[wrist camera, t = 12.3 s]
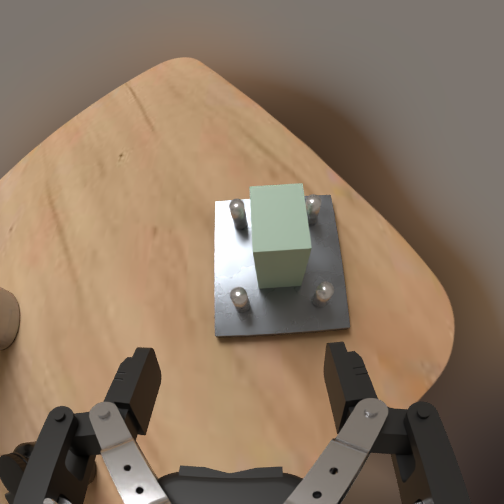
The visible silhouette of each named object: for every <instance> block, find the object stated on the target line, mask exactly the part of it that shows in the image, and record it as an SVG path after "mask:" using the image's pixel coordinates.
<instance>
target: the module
mask: <svg viewBox="0 0 504 504" xmlns="http://www.w3.org/2000/svg"><path fill="white" fill-rule="evenodd" d="M250 208H251V228H252V248H253V257H254V263H255V269H256V275H257V281H258V287H259V289H261V288H276V287H291V286H301V285H302V281H303V278H304V274H305V270H306V267H307V263H308V260H309V256H310V252H311V249H312V247H311V240H310V232H309V225H308V218H307V211H306V204H305V197H304V191H303V184H284V185H267V186H253V187H250Z"/></svg>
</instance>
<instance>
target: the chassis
mask: <svg viewBox="0 0 504 504" xmlns="http://www.w3.org/2000/svg"><path fill="white" fill-rule="evenodd" d="M304 197H305V204H306V211H307V218H308V225H309V232H310V240H311V247H312V249H311V252H310V256H309V260H308V263H307V267H306V270H305V274H304V278H303V281H302V285H301V286H291V287H276V288H261V289H259V287H258V281H257V275H256V269H255V263H254V257H253V248H252V228H251V208H250V199H244V200H240V199H234V200H230V201H217V202H216V207H215V336H216V337H246V336H267V335H284V334H298V333H311V332H323V331H334V330H344V329H348V328H350V322H349V313H348V304H347V296H346V288H345V280H344V273H343V266H342V259H341V252H340V246H339V240H338V233H337V227H336V222H335V216H334V210H333V205H332V199H331V195H314V194H313V195H309V196H304Z"/></svg>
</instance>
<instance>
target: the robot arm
mask: <svg viewBox="0 0 504 504" xmlns="http://www.w3.org/2000/svg"><path fill="white" fill-rule="evenodd" d="M19 316H20V313H19V306H18V302H17V300H16V298H15V296H14V295H13V294H12V293H11V292H9V291H7V290H5V289H3V288H1V287H0V350H2V349H5V348H7V347H8V346H9V345H10V344H11V343H12V342H13V340H14V339H15V336H16V334H17V331H18V327H19ZM324 379H325V383H326V388H327V392H328V396H329V400H330V404H331V409H332V413H333V417H334V421H335V426H336V430H337V434H338V435H337V437H336V438H335V439H334V438H333V439H332V440H331V441H330V443H329V444H328V445H327V447H326V448H325V450H324V451H323V453H322V454H321V455H320V457H319V458H318V460H317V461H316V462H315V464H314V465H313V467H312V468H311V469H310V471H309V472H308V473H307V475H306V476H305V477H304V478H303V479H302V478H300V477H298V476H295V475H292V474H288V473H283V471H282V467H266V468H254V469H249V470H245V471H240V472H235V473H225V472H221V471H217V470H213V469H209V468H205V467H193V466H180V469H179V472H175V473H171V474H168V475H165V476H163V477H161V478H159V479H158V477H157V476H156V474H155V473H154V471H153V469H152V468H151V466H150V464H149V463H148V461H147V459H146V458H145V456H144V454H143V452H142V451H141V449H140V447H139V445H138V444H137V442H136V438H137V434H139V435H146V432H147V428H148V425H149V421H150V418H151V414H152V411H153V408H154V404H155V401H156V397H157V394H158V391H159V387H160V384H161V370H160V367H159V364H158V361H157V358H156V355H155V351H154V349H153V348H141V347H138V348H136V350H135V353H134V355H133V357H127V358H126V359H125V360H124V361H123V362H122V363H121V364H120V366H119V368H118V371H117V373H116V375H115V377H114V380H113V382H112V384H111V386H110V388H109V390H108V393H107V395H106V397H105V400H104V402H101V403H98V404H96V405H95V406H93V408H92V409H91V410H90V412H85V413H76V414H74V413H73V412H72V410H71V409H70V408H68V407H66V406H60V407H56V408H54V409H53V410H52V411H51V412H50V413H49V415H48V417H47V419H46V421H45V423H44V425H43V428H42V430H41V432H40V434H39V437H38V439H37V441H36V444H35V446H34V449H33V451H32V453H31V456H30V458H29V461H28V463H27V466H26V468H25V471H24V474H23V476H22V479H21V482H20V484H19V487H18V490H17V493H16V496H15V499H14V502H13V504H83V502H84V498H85V494H86V490H87V486H88V482H89V479H90V475H91V471H92V468H93V464H94V461H95V457H96V455H99V454H101V455H102V457H103V460H104V462H105V464H106V466H107V469H108V471H109V473H110V475H111V477H112V479H113V481H114V483H115V486H116V488H117V490H118V492H119V494H120V495H121V497H122V499H123V501H124V503H125V504H341V502H342V501H343V499H344V498H345V496H346V494H347V493H348V491H349V490H350V488H351V486H352V484H353V483H354V481H355V479H356V478H357V476H358V474H359V473H360V471H361V469H362V467H363V466H364V464H365V462H366V460H367V458H368V457H369V455H370V453H385V454H391V457H392V461H393V466H394V469H395V474H396V478H397V483H398V487H399V491H400V497H401V501H402V504H471V502H470V499H469V496H468V493H467V489H466V486H465V483H464V480H463V477H462V474H461V472H460V469H459V466H458V463H457V460H456V457H455V455H454V452H453V449H452V447H451V445H450V442H449V439H448V436H447V434H446V431H445V429H444V426H443V424H442V421H441V419H440V417H439V414H438V412H437V410H436V408H435V407H434V406H432V405H431V404H430V403H427V402H416V403H414V404H412V405H411V406H410V407H409V408H408V409H394V408H389V407H387V406H386V404H385V403H384V402H382V401H381V400H379V399H378V398H377V395H376V393H375V390H374V388H373V385H372V382H371V380H370V377H369V375H368V372H367V370H366V368H365V365H364V362H363V360H362V358H361V357H360V356H359V355H358V354H357V353H356V352H355V351H352V352H347V350H346V347H345V344H344V342H334V343H327V345H326V353H325V361H324Z"/></svg>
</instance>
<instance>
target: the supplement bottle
mask: <svg viewBox="0 0 504 504" xmlns="http://www.w3.org/2000/svg"><path fill="white" fill-rule="evenodd" d="M35 444H36V441H35V442H27V443H22V444H19V445H18V446H17V447H16V448H15V449H14V451H13V453H10V454H6V455H2V456H1V457H0V479H1V480H2V483H3V484H4V486H5V487H6V488H7V490H8V491H9V492H10V493H11V494H12V495H13V496H16V493H17V490H18V487H19V484H20V482H21V479H22V476H23V474H24V471H25V468H26V466H27V463H28V461H29V458H30V456H31V453H32V451H33V449H34V446H35ZM95 472H96V468H95V463H94V464H93V468H92V471H91V475H90V479H89V482H88V485H89V484H90V483H91V482H92V481H93V479H94V477H95Z"/></svg>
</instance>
